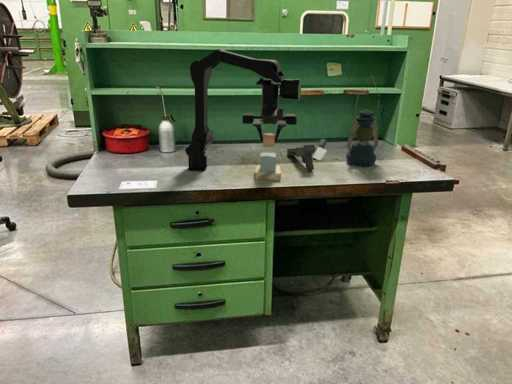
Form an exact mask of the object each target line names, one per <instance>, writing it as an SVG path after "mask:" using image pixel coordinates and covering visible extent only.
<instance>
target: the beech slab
mask: <svg viewBox="0 0 512 384" xmlns="http://www.w3.org/2000/svg"><path fill="white" fill-rule="evenodd" d="M260 165H261V164H259V165H255V175H254V176H255V177H254V178H255V181H256V180H257V181H261V180H262V181H281V178H282V172H281V166H280V165H276V172H260Z"/></svg>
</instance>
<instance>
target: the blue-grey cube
mask: <svg viewBox="0 0 512 384" xmlns="http://www.w3.org/2000/svg"><path fill="white" fill-rule="evenodd" d="M259 165H260V172H276V166H277V153H276V152H260V164H259Z"/></svg>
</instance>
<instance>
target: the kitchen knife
mask: <svg viewBox="0 0 512 384" xmlns="http://www.w3.org/2000/svg"><path fill="white" fill-rule="evenodd" d="M326 144H327V140H326V139H325V138H322V139H320V140H319V141H318V144H317V148H316V149H315V152H314V153H313V155H312V159H315V160H317V161H321V160H322V159H323V157H324V156H325V155H326V153H327V151H328V150H327V149H325V148H324V147H325V145H326Z"/></svg>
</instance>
